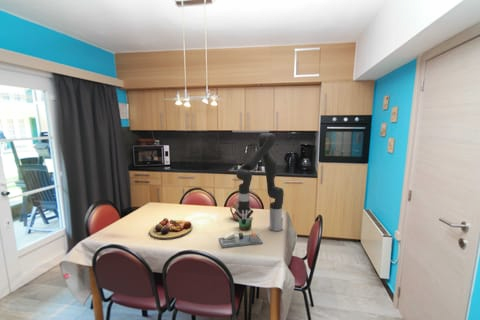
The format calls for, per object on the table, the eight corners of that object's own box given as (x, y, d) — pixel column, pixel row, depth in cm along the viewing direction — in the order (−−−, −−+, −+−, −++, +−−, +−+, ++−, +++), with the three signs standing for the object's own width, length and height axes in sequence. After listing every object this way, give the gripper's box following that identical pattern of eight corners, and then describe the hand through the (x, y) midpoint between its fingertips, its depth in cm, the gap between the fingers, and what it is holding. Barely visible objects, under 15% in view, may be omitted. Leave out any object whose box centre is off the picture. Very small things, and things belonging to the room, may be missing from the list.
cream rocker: (234, 232, 166) (233, 230, 165) (235, 235, 162) (234, 233, 161) (224, 237, 164) (223, 236, 164) (225, 240, 161) (224, 238, 160)
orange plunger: (255, 237, 163) (255, 231, 163) (257, 240, 160) (257, 233, 159) (250, 238, 163) (250, 231, 162) (252, 240, 159) (252, 234, 159)
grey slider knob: (238, 240, 161) (238, 233, 160) (239, 242, 157) (239, 236, 157) (234, 240, 160) (234, 234, 160) (235, 243, 157) (235, 236, 156)
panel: (257, 235, 171) (257, 229, 171) (262, 243, 159) (262, 237, 158) (219, 239, 165) (218, 233, 165) (221, 248, 153) (221, 241, 152)
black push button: (242, 236, 167) (242, 232, 167) (243, 238, 164) (243, 235, 163) (237, 236, 166) (237, 233, 166) (238, 238, 163) (238, 235, 162)
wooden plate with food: (199, 224, 191) (199, 214, 190) (179, 242, 161) (178, 231, 160) (165, 221, 200) (165, 211, 199) (140, 237, 170) (139, 226, 169)
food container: (235, 229, 181) (234, 216, 180) (238, 226, 187) (238, 214, 185) (249, 232, 176) (249, 219, 175) (252, 228, 182) (252, 216, 180)
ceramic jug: (252, 216, 207) (252, 200, 205) (249, 222, 193) (248, 206, 191) (232, 215, 211) (232, 199, 209) (228, 221, 197) (227, 204, 195)
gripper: (235, 201, 151) (235, 227, 153) (255, 200, 154) (254, 225, 156) (233, 198, 158) (233, 222, 160) (252, 197, 161) (251, 221, 163)
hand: (243, 224), depth 158 cm, fingers closed
